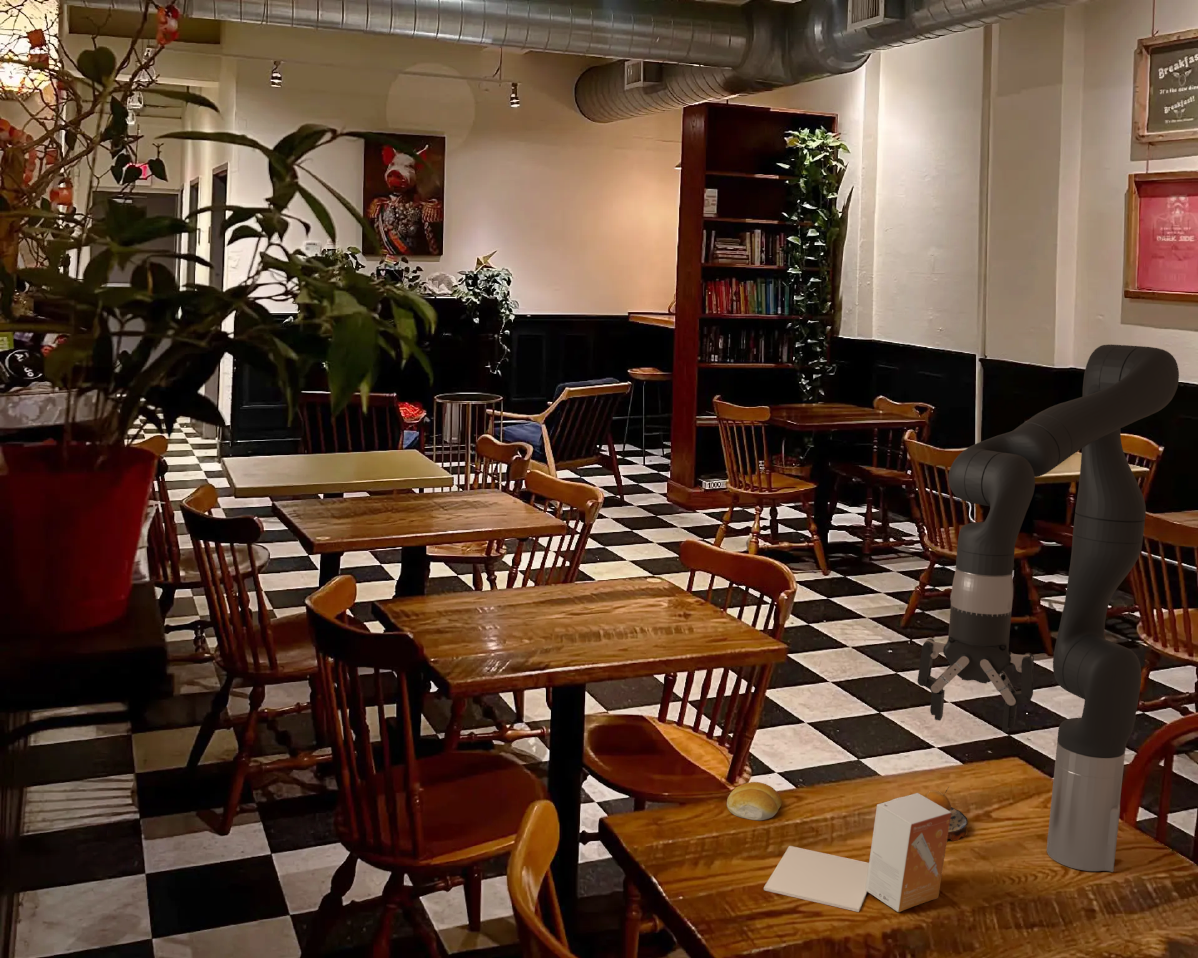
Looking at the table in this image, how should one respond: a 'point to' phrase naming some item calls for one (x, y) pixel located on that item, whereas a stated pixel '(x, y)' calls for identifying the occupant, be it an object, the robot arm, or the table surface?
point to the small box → (907, 851)
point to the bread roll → (754, 801)
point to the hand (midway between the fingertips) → (971, 724)
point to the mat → (820, 878)
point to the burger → (957, 818)
